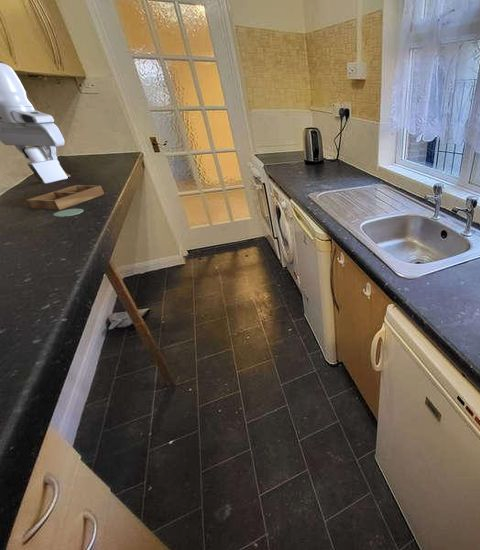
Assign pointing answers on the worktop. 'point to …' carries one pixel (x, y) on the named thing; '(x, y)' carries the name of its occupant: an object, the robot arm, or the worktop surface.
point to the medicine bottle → (43, 165)
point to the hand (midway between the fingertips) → (42, 158)
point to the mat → (68, 212)
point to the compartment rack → (65, 197)
